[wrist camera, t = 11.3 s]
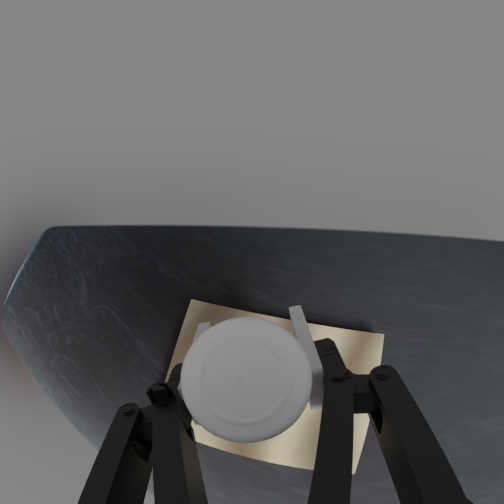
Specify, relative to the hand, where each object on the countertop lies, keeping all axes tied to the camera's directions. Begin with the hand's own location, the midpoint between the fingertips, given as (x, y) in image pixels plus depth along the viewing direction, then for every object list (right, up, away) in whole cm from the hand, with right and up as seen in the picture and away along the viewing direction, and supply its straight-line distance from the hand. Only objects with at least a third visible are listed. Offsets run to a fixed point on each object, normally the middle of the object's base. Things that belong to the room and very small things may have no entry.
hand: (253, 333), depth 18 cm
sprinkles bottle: (+1, -5, +2) cm, 6 cm away
